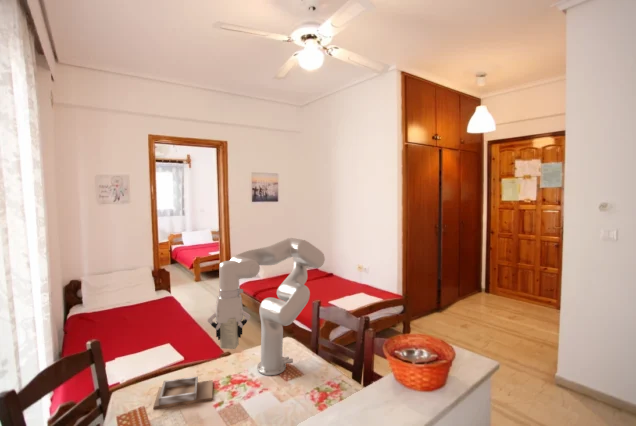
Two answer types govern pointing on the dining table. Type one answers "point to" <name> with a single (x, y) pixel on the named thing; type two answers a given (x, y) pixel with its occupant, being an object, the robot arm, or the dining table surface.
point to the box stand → (183, 392)
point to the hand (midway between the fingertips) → (229, 337)
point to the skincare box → (229, 334)
